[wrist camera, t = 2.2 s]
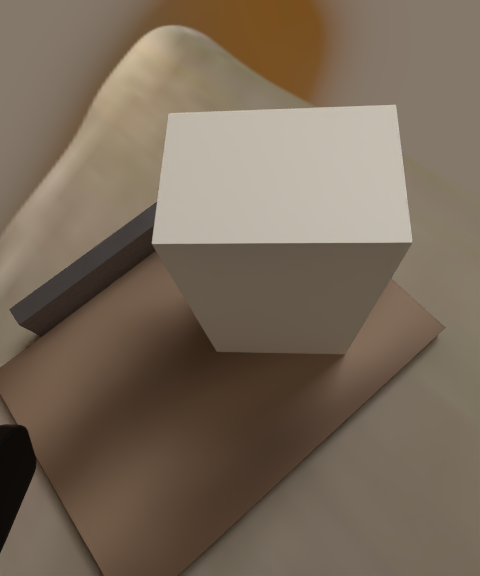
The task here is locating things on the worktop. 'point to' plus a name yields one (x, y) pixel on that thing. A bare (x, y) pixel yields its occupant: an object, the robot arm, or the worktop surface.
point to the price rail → (87, 275)
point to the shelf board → (184, 415)
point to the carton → (282, 222)
